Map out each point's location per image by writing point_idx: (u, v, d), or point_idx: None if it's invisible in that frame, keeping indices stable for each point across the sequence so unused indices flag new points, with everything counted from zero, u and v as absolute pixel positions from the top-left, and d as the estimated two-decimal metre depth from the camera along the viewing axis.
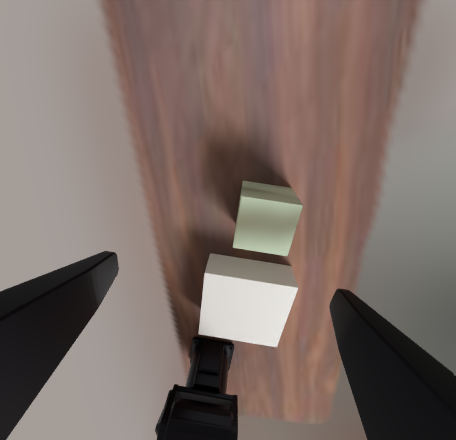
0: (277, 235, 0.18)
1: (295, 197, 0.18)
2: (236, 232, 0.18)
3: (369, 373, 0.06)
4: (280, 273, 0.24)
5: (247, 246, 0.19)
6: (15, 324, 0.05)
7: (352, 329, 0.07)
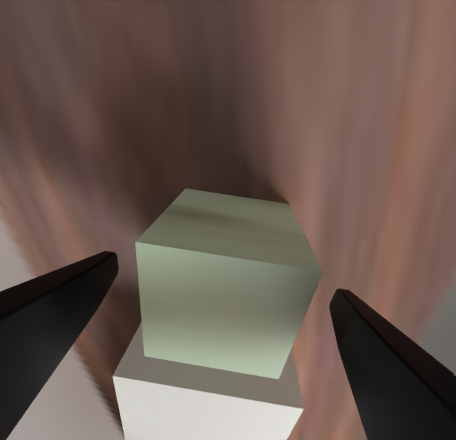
0: (251, 339, 0.07)
1: (299, 235, 0.07)
2: (145, 327, 0.07)
3: (369, 373, 0.06)
4: None
5: (179, 355, 0.08)
6: (15, 324, 0.05)
7: (352, 329, 0.07)
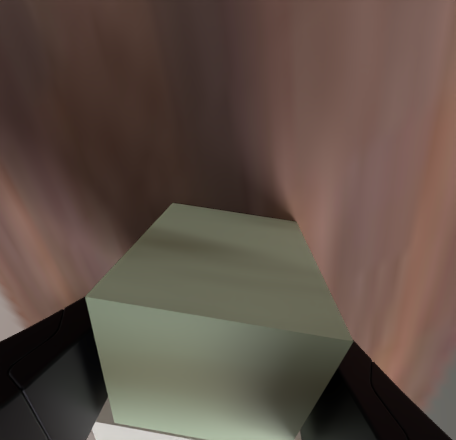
0: (250, 412, 0.05)
1: (312, 273, 0.05)
2: (111, 394, 0.05)
3: None
4: None
5: (157, 424, 0.06)
6: (91, 337, 0.05)
7: None
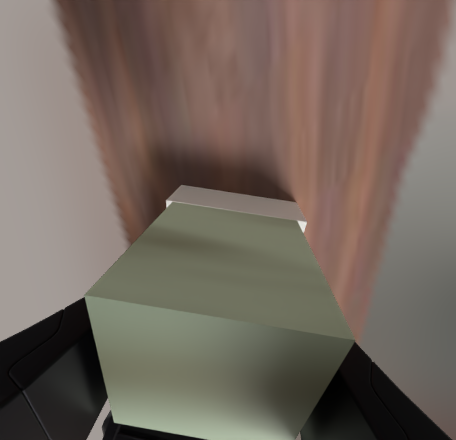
0: (251, 412, 0.05)
1: (314, 271, 0.05)
2: (110, 393, 0.05)
3: None
4: (280, 207, 0.16)
5: (157, 424, 0.06)
6: (92, 337, 0.05)
7: None
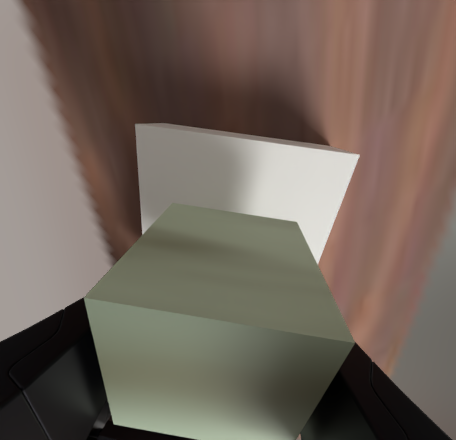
0: (250, 414, 0.05)
1: (313, 273, 0.05)
2: (110, 395, 0.05)
3: None
4: (310, 145, 0.11)
5: (157, 426, 0.06)
6: (92, 337, 0.05)
7: None
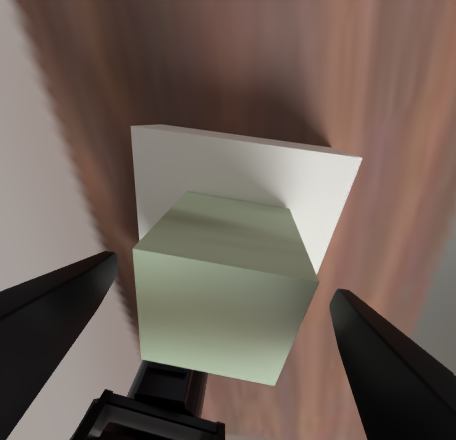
0: (247, 346, 0.07)
1: (297, 243, 0.07)
2: (142, 331, 0.07)
3: (369, 373, 0.06)
4: (311, 147, 0.10)
5: (175, 360, 0.08)
6: (15, 324, 0.05)
7: (352, 329, 0.07)
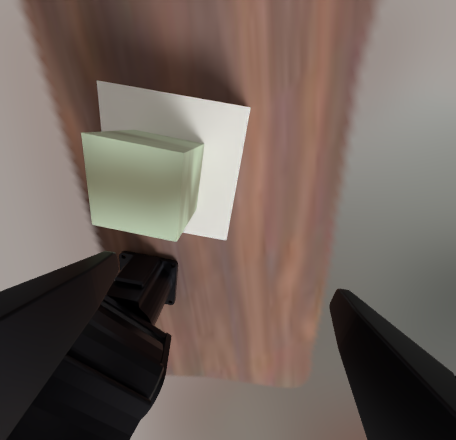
0: (154, 206, 0.11)
1: (189, 147, 0.12)
2: (90, 199, 0.11)
3: (369, 373, 0.06)
4: None
5: (113, 223, 0.12)
6: (15, 324, 0.05)
7: (352, 329, 0.07)
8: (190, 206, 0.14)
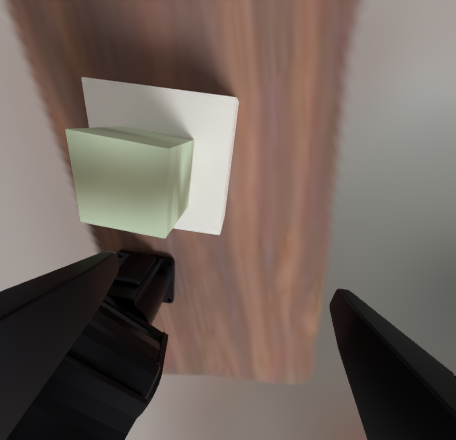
0: (141, 203, 0.11)
1: (176, 143, 0.11)
2: (77, 196, 0.11)
3: (369, 373, 0.06)
4: None
5: (101, 220, 0.12)
6: (15, 324, 0.05)
7: (352, 329, 0.07)
8: (180, 203, 0.14)
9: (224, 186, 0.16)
